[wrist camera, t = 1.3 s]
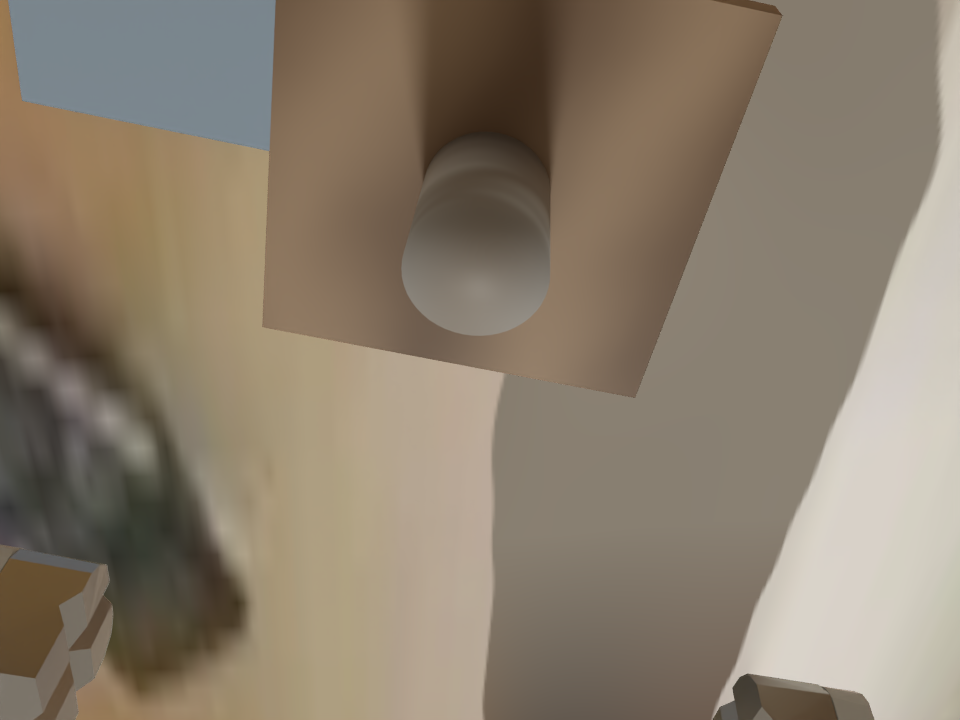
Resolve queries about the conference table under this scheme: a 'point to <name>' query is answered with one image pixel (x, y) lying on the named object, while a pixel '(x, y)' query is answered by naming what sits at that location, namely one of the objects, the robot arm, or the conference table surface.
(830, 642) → the conference table surface
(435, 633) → the conference table surface
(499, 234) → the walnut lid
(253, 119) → the slate mat
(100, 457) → the conference table surface
